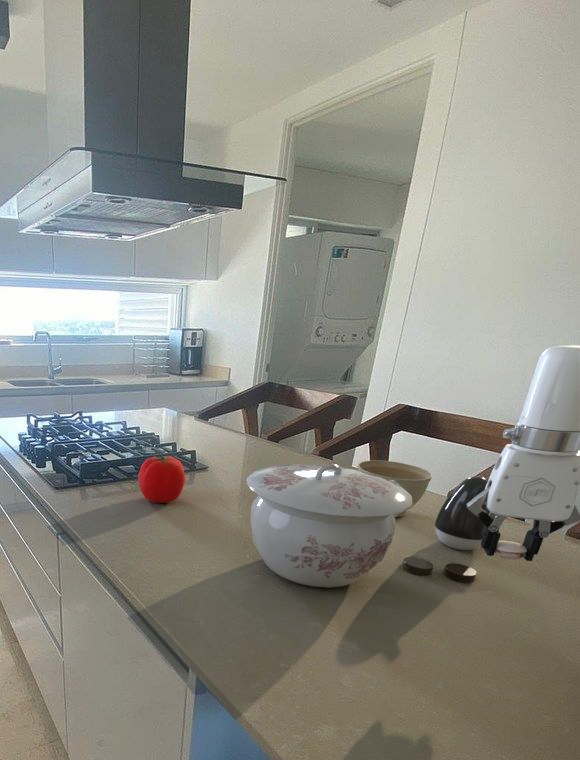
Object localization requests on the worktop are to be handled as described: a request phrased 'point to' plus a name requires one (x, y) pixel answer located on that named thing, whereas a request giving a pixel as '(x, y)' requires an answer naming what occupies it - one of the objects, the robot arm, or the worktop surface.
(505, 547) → the macaroon
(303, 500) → the chamber pot
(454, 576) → the middle disc
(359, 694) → the worktop surface
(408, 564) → the far disc
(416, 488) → the planter bowl
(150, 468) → the tomato
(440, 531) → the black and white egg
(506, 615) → the worktop surface
